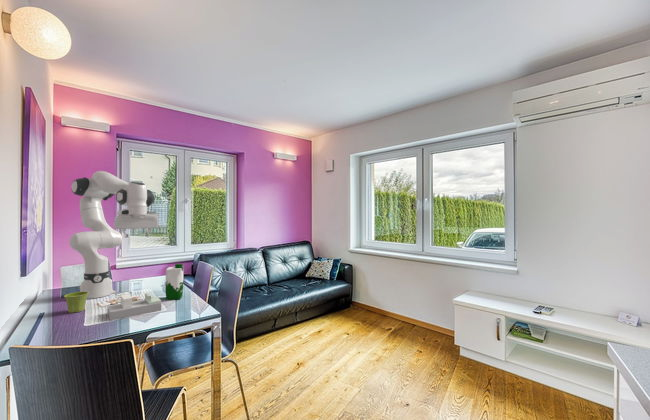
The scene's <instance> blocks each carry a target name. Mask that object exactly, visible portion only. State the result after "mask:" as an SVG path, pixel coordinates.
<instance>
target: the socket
mask: <svg viewBox="0 0 650 420" xmlns="http://www.w3.org/2000/svg"><path fill="white" fill-rule="evenodd" d="M106 307H107V309H106V310H107V311H106V312H107V317H108V319H109V321H110V322H111V321H117V320H121V319H125V318H132V317H135V316H140V315H146V314H150V313H155V312H159V311H160V312H161V311H162V301H161V302H159V303H153V304H148V303H147V302H146V301H145V299H140V300H139V299H138V301H133V302H132V307H130V308H125V309H123V307H122V306H121V303H118V304H117V303H115V304H112V305H110V304H109V305H107V306H106Z"/></svg>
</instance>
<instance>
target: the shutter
mask: <svg viewBox="0 0 650 420" xmlns="http://www.w3.org/2000/svg"><path fill="white" fill-rule="evenodd" d="M144 300H145V301H146V302H147V303H148V304H153V303H159V302H161V303H162V300H161V299H160V298H159V297H158V296H152V295H151V294H150V293H148V292H145V293H144Z"/></svg>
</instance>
